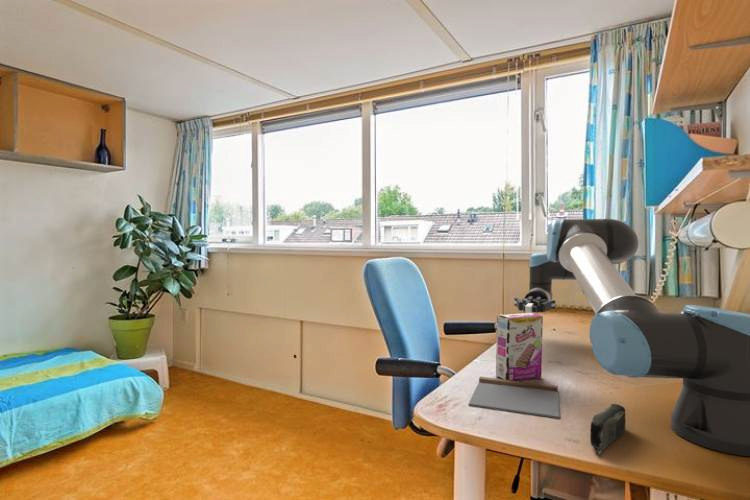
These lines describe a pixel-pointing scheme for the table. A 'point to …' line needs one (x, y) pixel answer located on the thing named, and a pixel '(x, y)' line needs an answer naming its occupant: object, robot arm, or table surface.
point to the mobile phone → (607, 427)
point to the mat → (516, 399)
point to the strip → (519, 384)
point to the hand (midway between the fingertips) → (527, 310)
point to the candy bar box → (519, 346)
